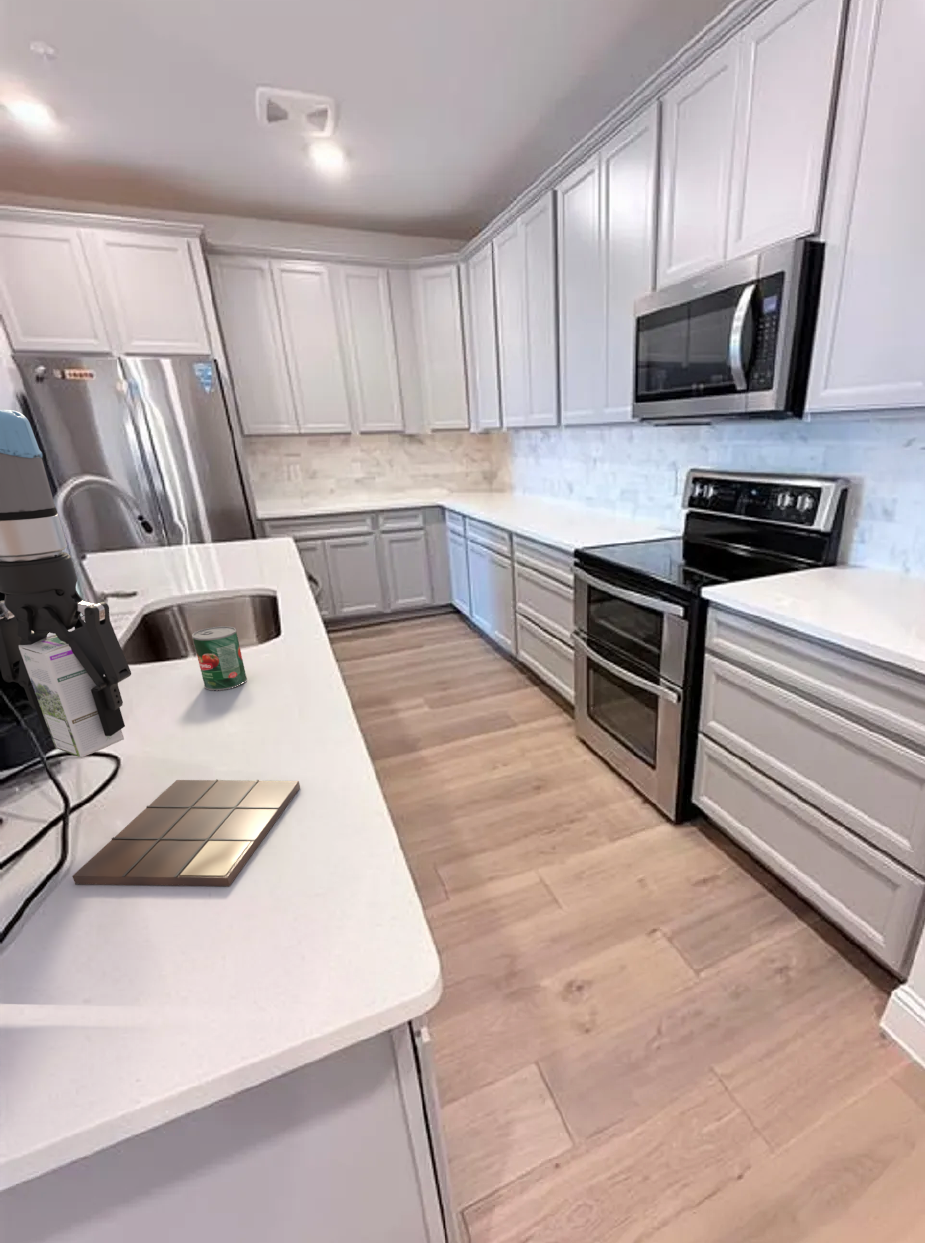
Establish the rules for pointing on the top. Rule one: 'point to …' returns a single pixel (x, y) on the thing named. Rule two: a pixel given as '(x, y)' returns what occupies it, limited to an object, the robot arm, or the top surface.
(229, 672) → the canned tomato
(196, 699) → the top surface
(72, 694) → the syrup box
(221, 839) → the game board
